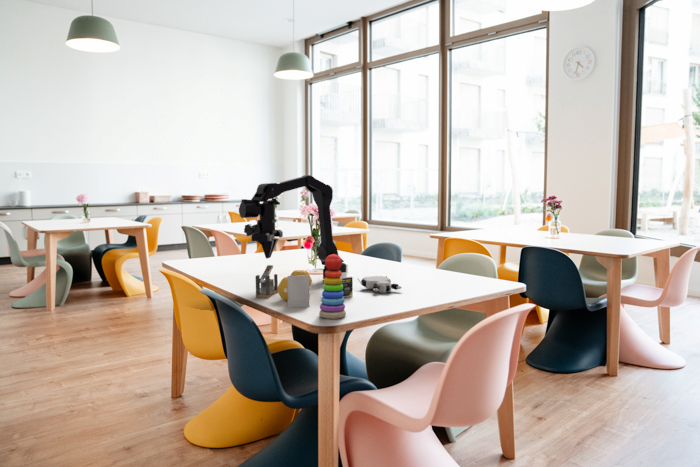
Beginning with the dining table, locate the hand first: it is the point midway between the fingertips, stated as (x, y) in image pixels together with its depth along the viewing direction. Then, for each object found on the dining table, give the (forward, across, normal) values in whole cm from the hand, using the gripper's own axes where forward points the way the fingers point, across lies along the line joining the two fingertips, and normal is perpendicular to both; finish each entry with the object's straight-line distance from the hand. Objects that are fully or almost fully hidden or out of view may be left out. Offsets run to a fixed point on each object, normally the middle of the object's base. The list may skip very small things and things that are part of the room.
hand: (268, 258), depth 195 cm
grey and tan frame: (+12, +10, +3) cm, 16 cm away
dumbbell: (+12, +10, +14) cm, 21 cm away
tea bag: (+12, +25, +19) cm, 34 cm away
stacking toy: (+12, +37, +33) cm, 51 cm away
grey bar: (+5, +10, +3) cm, 12 cm away
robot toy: (+12, -4, +42) cm, 44 cm away
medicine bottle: (+12, +7, +29) cm, 32 cm away
